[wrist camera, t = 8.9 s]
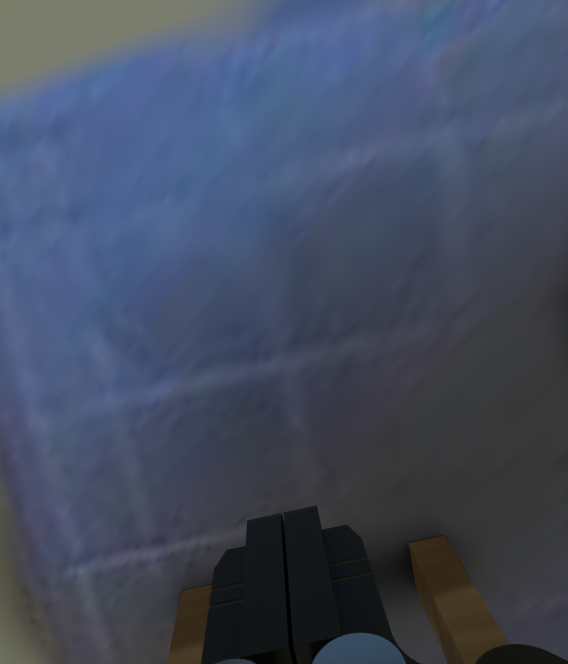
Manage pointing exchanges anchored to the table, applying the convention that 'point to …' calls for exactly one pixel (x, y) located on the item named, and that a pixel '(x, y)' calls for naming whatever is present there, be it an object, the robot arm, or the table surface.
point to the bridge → (434, 592)
